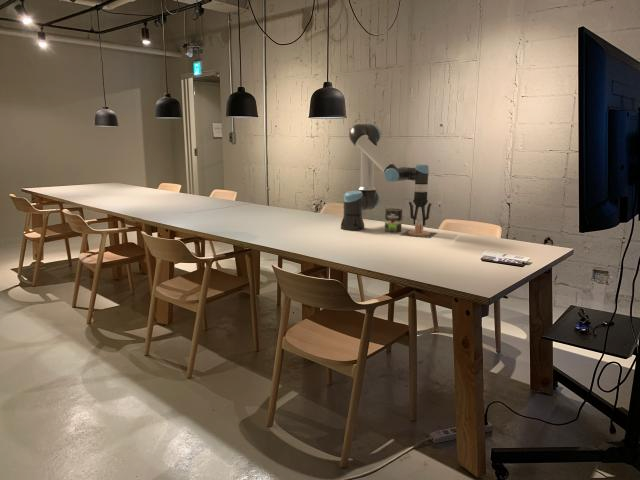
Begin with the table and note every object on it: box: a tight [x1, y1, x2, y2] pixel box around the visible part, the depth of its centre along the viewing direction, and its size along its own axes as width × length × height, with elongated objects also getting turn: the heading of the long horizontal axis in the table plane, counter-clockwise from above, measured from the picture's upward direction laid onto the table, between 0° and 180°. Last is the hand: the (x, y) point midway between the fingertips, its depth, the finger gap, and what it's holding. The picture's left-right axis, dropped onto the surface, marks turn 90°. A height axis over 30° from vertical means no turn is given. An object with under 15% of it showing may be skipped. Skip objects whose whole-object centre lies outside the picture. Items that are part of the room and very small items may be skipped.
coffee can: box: [384, 208, 403, 234], centre depth 289 cm, size 10×10×14 cm
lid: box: [407, 222, 431, 236], centre depth 283 cm, size 13×13×6 cm
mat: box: [400, 229, 437, 239], centre depth 284 cm, size 18×18×1 cm
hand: (419, 230), depth 283 cm, fingers open, 3 cm apart
